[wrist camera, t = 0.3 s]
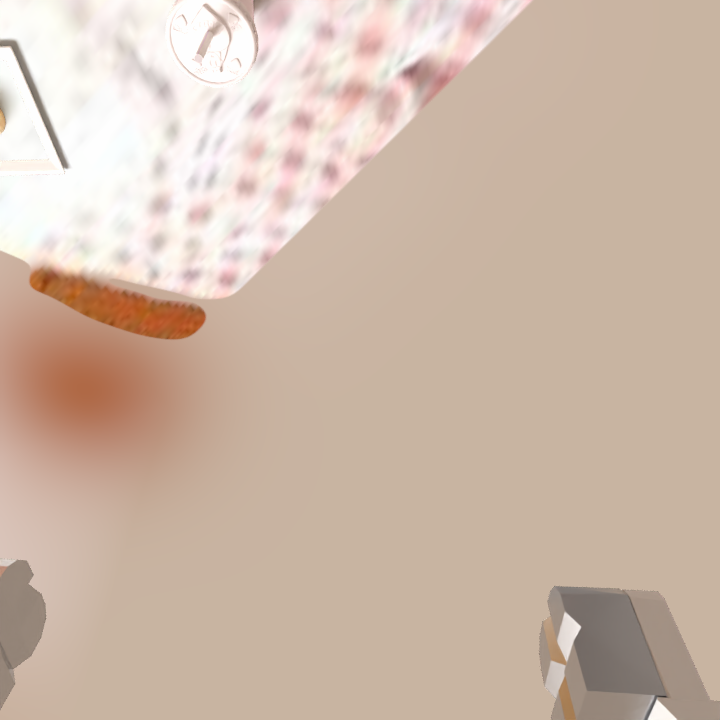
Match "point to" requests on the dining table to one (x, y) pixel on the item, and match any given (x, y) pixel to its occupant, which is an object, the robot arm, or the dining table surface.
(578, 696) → the robot arm
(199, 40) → the smoothie
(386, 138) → the dining table surface
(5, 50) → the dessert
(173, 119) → the dining table surface
